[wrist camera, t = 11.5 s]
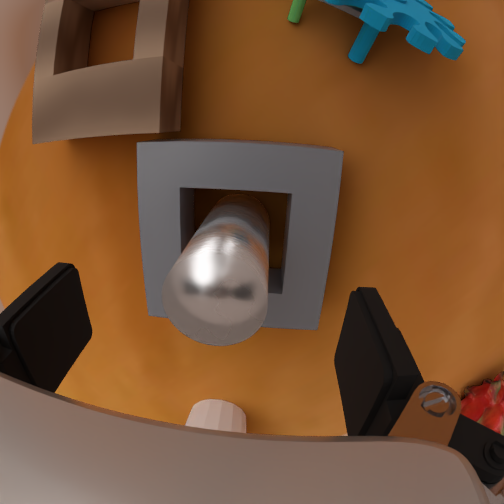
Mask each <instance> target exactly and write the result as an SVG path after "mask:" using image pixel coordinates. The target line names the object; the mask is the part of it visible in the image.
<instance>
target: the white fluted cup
mask: <svg viewBox="0 0 504 504" xmlns="http://www.w3.org/2000/svg"><path fill="white" fill-rule="evenodd" d="M185 426H191V427H198V428H205V429H212V430H221V431H230V432H240V433H246V415H245V413H244V412H243V410H242V409H241V408H239V407H238V406H236V405H235V404H233V403H230V402H227V401H224V400H216V399H208V400H202V401H200V402H198V403H196V404H194V406H193V408H192V410H191V412H190V414H189V417H188V419H187V422H186V424H185Z"/></svg>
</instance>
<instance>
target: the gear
mask: <svg viewBox="0 0 504 504" xmlns="http://www.w3.org/2000/svg"><path fill="white" fill-rule="evenodd" d="M319 1H321V2H324V3H326V4H329V5H331V6H333V7H336V8H338V9H340V10H342V11H345V12H347V13H349V14H351V15H353V16H355V17H357V18H359V19H361V20H363V21H364V24H363V26H362V28H361V30H360V32H359V34H358V36H357V38H356V40H355V42H354V44H353V46H352V48H351V50H350V52H349V54H348V57H349V58H350V59H351V60H352V61H354V62H356V63H359V64H361V63H363V61H364V59H365V58H366V56H367V54H368V52H369V50H370V48H371V46H372V45H373V43H374V41H375V39H376V37H377V35H378V34H379V32H380V31H381V32H386V30H387V29H388V27H389V25H390V24H394V25H399V26H401V27H403V28H405V29H407V30H408V31H409V33H408V35H407V37H406V40H407V41H408V43H410V44H411V45H413V46H414V47H416V48H418V49H420V50H422V51H423V52H425V53H427V54H430V53H431V52H432V50H433V49H434V47H436V49H437V50H438V51H439V52H440V53H441V54H442V55H443V56H445V57H447V58H449V59H452V60H457V58H458V57H459V56H460V54H461V53H462V52H463V49H462V47H463V45H464V44H465V42H466V41H465V40H464V39H463V38H462V37H461V36H460V35H458V34H457V33H455V32H454V31H453V30H454V28H455V27H454V25H453V24H452V23H451V22H450V21H449V20H447V19H446V18H444V17H442V16H440V15H438V14H436V13H435V12H433V11H432V9H433V7H432V6H431V5H430V4H428V3H427V2H426V1H424V0H319ZM305 3H306V0H293V3H292V6H291V9H290V12H289V15H288V18H287V19H288V20H289V21H291V22H295V23H298V22H299V20H300V17H301V14H302V11H303V8H304V6H305Z"/></svg>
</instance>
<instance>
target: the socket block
mask: <svg viewBox="0 0 504 504" xmlns="http://www.w3.org/2000/svg"><path fill="white" fill-rule="evenodd" d="M343 152H344V151H341V150H338V149H335V148H333V147H326V146H317V145H307V144H297V143H285V142H271V141H255V140H233V139H155V140H149V141H142V142H137V183H138V208H139V225H140V239H141V251H142V262H143V272H144V282H145V291H146V299H147V307H148V314H149V316H156V317H164V318H168V316H167V314H166V312H165V310H164V307H163V303H162V287H163V284H164V281H165V278H166V276H167V275H168V273H169V272H170V270H171V269H172V267H173V266H174V264H175V263H176V261H177V260H178V258H179V256H180V255H181V253H182V252H183V250H184V249H185V247H186V246H187V245H188V243H189V242H190V240H191V239H192V237H193V236H194V234H195V227H194V188H210V189H231V190H249V191H265V192H279V193H288V197H287V209H286V220H285V231H284V242H283V253H282V263H281V269H278V268H269V271H268V306H267V314H266V317H265V320H264V322H263V324H262V325H261V327H270V328H286V329H305V330H317V329H318V324H319V319H320V314H321V308H322V303H323V297H324V292H325V286H326V280H327V274H328V268H329V262H330V256H331V249H332V243H333V236H334V229H335V222H336V214H337V207H338V199H339V190H340V182H341V172H342V163H343Z"/></svg>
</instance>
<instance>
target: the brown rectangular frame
mask: <svg viewBox="0 0 504 504" xmlns="http://www.w3.org/2000/svg"><path fill="white" fill-rule="evenodd" d="M139 1H140V4H139V11H138V18H137V27H136V35H135V45H134V56H133V60H126V61H119V62H113V63H107V64H102V65H96V66H91V67H87V63H88V52H89V43H90V35H91V28H92V21H93V14H94V11H98V10H102V9H106V8H110V7H114V6H119V5H123V4H128V3H133V2H139ZM188 8H189V0H46V1H45V6H44V10H43V15H42V21H41V27H40V33H39V39H38V47H37V54H36V63H35V74H34V88H33V114H32V137H33V144H37V143H44V142H51V141H59V140H67V139H76V138H86V137H96V136H108V135H123V134H141V133H163V132H175V131H180V128H181V101H182V81H183V65H184V51H185V39H186V28H187V17H188Z"/></svg>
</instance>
